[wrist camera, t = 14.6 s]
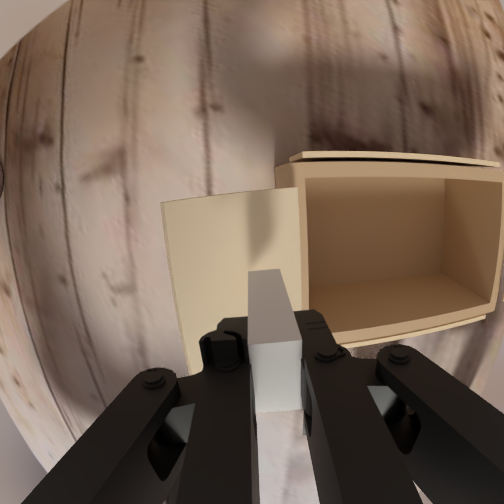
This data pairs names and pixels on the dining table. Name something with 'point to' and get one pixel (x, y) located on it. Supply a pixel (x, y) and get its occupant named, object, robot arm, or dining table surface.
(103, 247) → the dining table surface
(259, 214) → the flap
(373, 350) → the dining table surface
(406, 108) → the dining table surface
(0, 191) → the mortar and pestle
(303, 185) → the carton
